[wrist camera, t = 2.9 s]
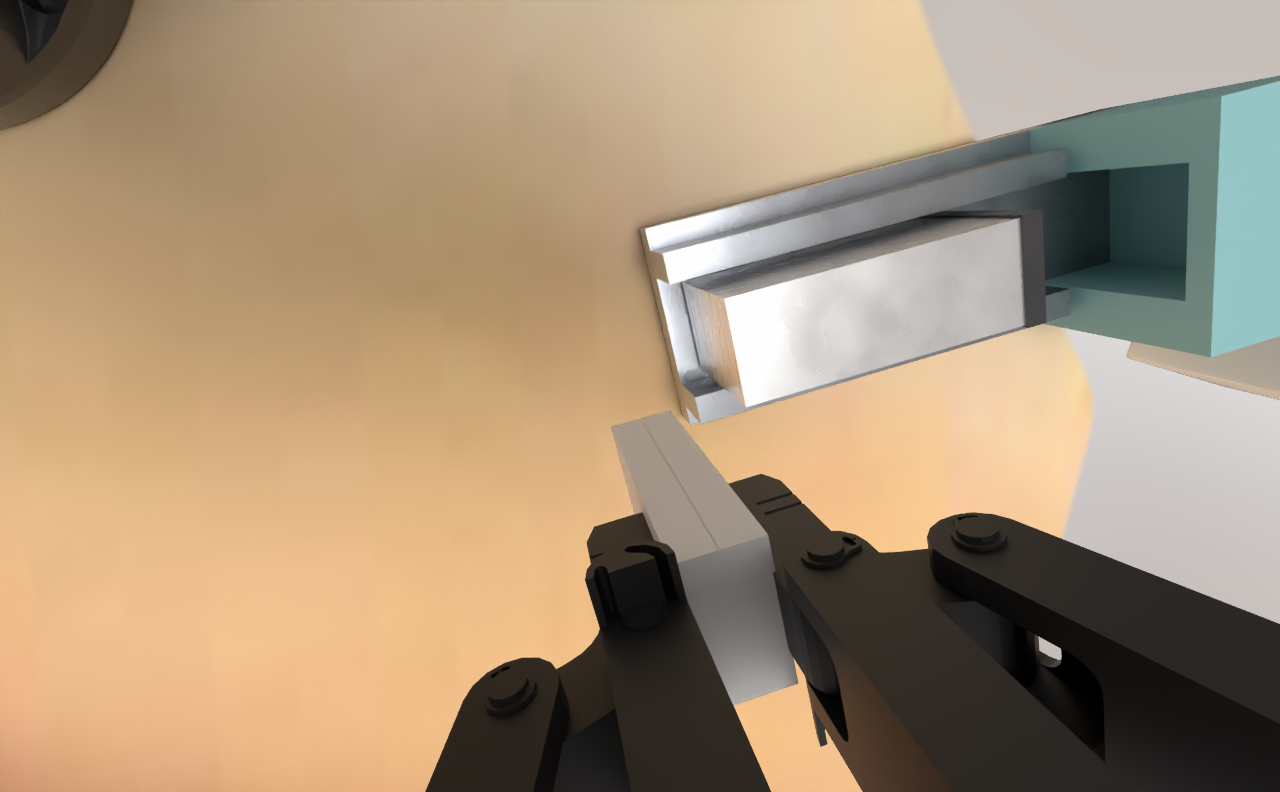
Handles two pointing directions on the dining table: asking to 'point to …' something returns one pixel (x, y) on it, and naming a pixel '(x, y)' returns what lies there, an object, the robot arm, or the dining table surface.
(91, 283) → the dining table surface
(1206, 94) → the socket housing
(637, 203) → the dining table surface
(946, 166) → the guide channel
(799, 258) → the sliding block
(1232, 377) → the milk carton
